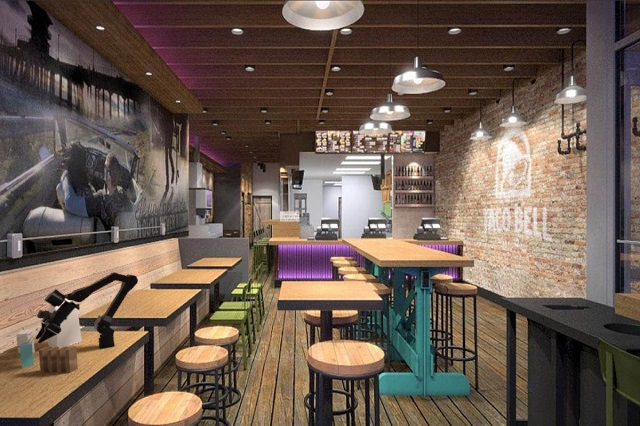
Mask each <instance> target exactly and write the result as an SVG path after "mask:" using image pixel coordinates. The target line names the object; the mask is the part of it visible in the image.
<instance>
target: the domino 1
mask: <svg viewBox="0 0 640 426" xmlns="http://www.w3.org/2000/svg"><path fill="white" fill-rule="evenodd" d="M20 352H21V358H20V361H21V364H20V365H21V368H27V367H31V366H34V352H33V350H32V343H29V344H24V345H20Z"/></svg>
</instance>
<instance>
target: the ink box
mask: <svg viewBox="0 0 640 426" xmlns="http://www.w3.org/2000/svg"><path fill="white" fill-rule="evenodd" d="M15 335H16V344H17V356H18V357H17V358H18V359H21V352H20V345H24V344H29V343H32V350H33V353H34V352H36V351H35V349H36V348H35V340H34V339H35V337H34V329H33V328H32V329H31V328H30V329H23V330H20V331H19V332H18V333H17V334H15Z"/></svg>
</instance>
